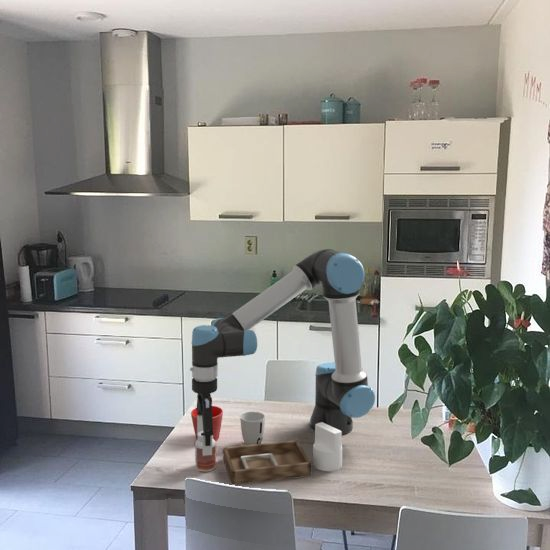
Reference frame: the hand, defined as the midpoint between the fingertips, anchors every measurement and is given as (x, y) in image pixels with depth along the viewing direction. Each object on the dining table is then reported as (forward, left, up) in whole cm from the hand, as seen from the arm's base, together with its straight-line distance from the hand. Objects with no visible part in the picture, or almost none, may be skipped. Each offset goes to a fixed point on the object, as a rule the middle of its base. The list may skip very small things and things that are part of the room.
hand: (204, 444), depth 187 cm
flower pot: (-3, -20, -8) cm, 22 cm away
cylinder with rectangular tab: (-37, +6, -8) cm, 39 cm away
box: (-18, +4, -7) cm, 20 cm away
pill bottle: (0, 0, -8) cm, 8 cm away
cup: (-17, -12, -8) cm, 23 cm away
